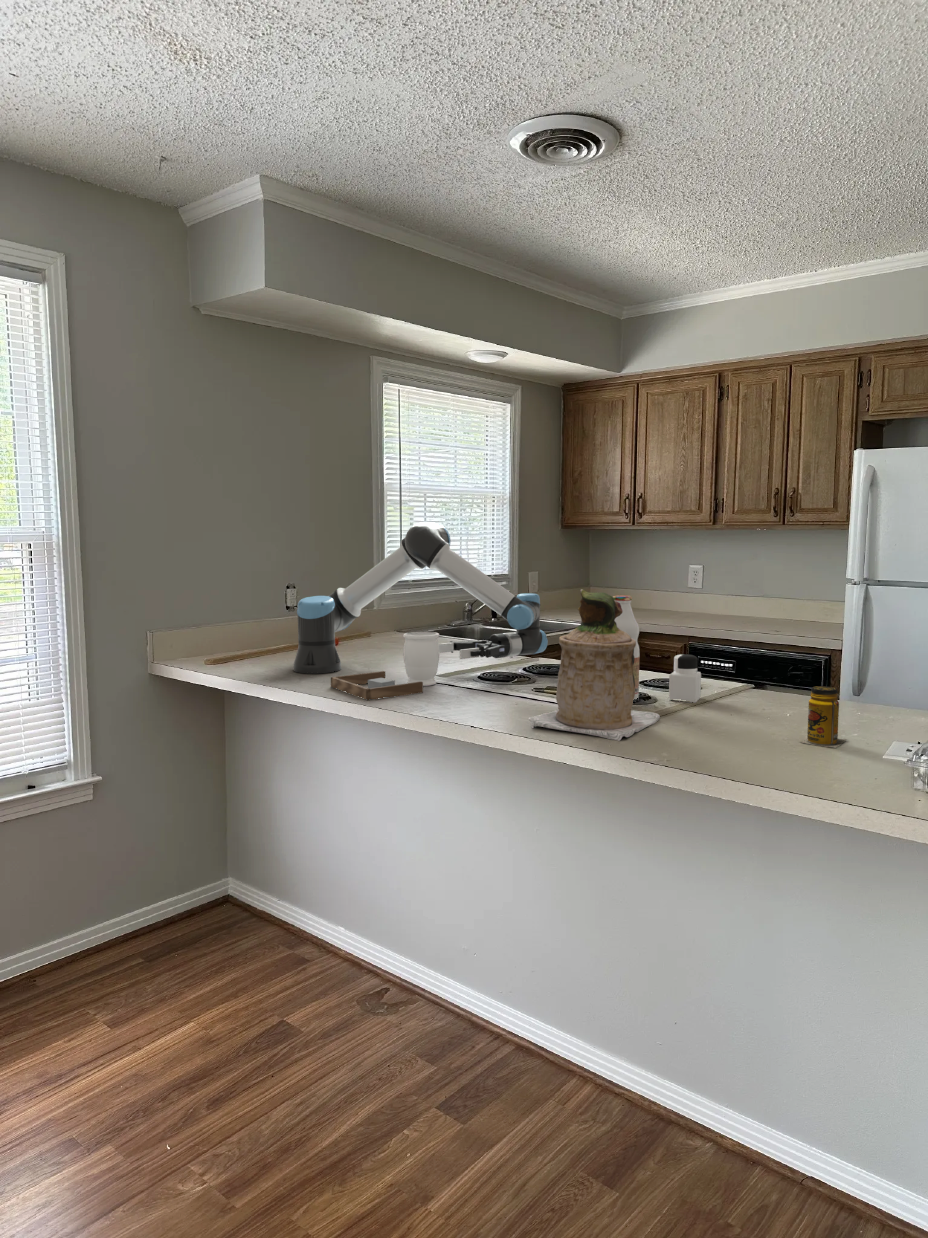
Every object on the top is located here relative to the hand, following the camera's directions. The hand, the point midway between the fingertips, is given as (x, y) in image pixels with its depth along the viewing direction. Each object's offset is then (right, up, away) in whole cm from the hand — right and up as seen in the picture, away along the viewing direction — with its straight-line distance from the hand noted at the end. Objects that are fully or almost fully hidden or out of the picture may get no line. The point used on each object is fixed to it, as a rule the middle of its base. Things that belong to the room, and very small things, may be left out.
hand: (447, 651), depth 256 cm
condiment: (+83, -17, -71) cm, 110 cm away
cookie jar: (+36, -15, -54) cm, 66 cm away
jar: (-7, -10, -4) cm, 13 cm away
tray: (-20, -10, -13) cm, 26 cm away
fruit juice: (+47, -12, -28) cm, 56 cm away
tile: (-19, -11, -12) cm, 25 cm away
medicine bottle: (+64, -12, -27) cm, 71 cm away
